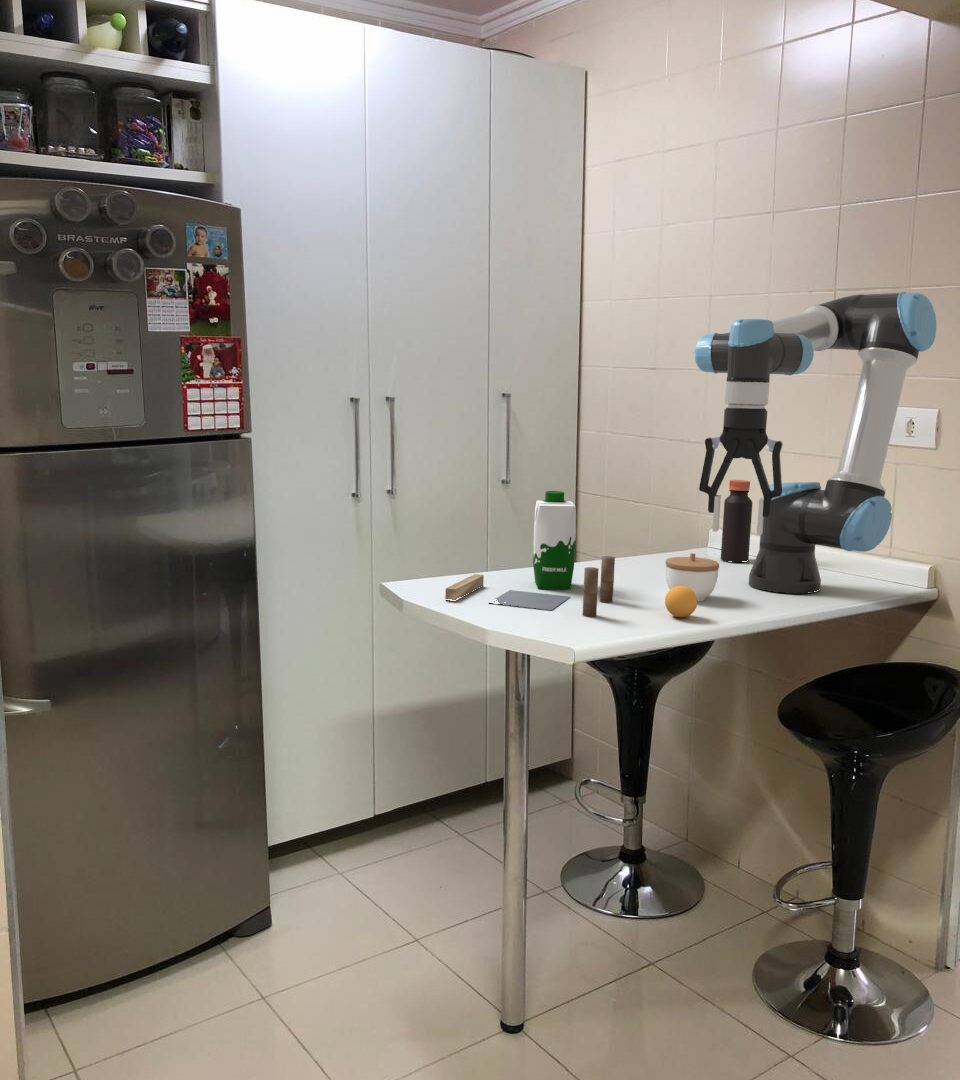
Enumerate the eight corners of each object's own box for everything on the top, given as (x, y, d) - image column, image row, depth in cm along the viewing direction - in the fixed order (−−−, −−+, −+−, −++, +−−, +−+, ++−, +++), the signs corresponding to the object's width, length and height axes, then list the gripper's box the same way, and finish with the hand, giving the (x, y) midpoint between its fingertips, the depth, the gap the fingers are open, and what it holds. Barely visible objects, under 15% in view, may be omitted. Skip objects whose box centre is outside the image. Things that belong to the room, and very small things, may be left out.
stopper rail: (483, 586, 216) (483, 574, 215) (454, 601, 201) (454, 589, 200) (474, 585, 216) (474, 574, 216) (445, 600, 201) (445, 588, 201)
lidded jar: (716, 594, 214) (719, 550, 212) (717, 606, 203) (720, 559, 202) (664, 591, 216) (667, 547, 214) (662, 602, 206) (665, 556, 204)
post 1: (597, 614, 193) (600, 568, 192) (594, 617, 191) (596, 570, 190) (584, 613, 194) (586, 566, 193) (581, 615, 192) (583, 569, 190)
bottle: (754, 562, 252) (760, 481, 249) (734, 564, 248) (740, 482, 245) (734, 557, 258) (739, 478, 254) (714, 559, 254) (719, 479, 251)
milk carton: (570, 582, 223) (574, 491, 219) (575, 591, 214) (579, 496, 210) (530, 581, 222) (533, 490, 219) (533, 590, 213) (537, 495, 210)
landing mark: (570, 597, 207) (570, 596, 207) (551, 610, 195) (551, 609, 195) (510, 590, 212) (510, 590, 212) (488, 603, 200) (488, 602, 200)
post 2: (614, 600, 206) (616, 556, 204) (611, 603, 203) (613, 558, 202) (601, 599, 206) (603, 555, 205) (598, 601, 204) (600, 557, 203)
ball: (698, 615, 195) (700, 584, 194) (693, 622, 189) (695, 590, 188) (667, 611, 197) (669, 581, 196) (661, 618, 192) (663, 587, 190)
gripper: (805, 408, 183) (795, 534, 187) (693, 404, 190) (685, 525, 194) (803, 409, 176) (792, 539, 180) (686, 405, 183) (678, 530, 187)
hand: (737, 532), depth 187 cm, fingers open, 7 cm apart
